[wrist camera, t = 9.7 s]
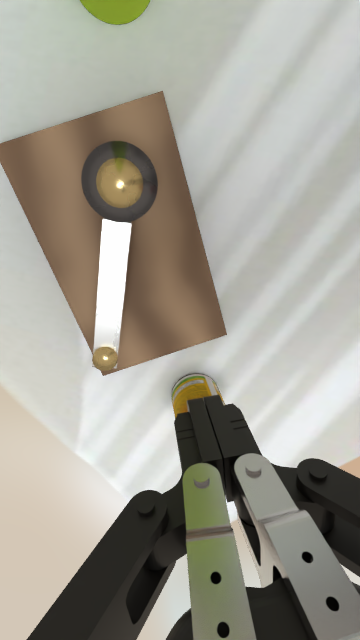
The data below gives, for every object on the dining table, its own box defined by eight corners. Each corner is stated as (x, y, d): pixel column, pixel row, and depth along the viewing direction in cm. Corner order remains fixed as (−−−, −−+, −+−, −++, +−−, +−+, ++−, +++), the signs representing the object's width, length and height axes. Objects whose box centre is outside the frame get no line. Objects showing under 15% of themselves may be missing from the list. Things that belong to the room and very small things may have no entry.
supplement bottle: (162, 401, 37) (171, 471, 28) (187, 365, 35) (206, 426, 26) (200, 417, 38) (221, 488, 30) (226, 383, 37) (256, 447, 28)
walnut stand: (160, 97, 25) (162, 90, 23) (221, 326, 34) (227, 335, 32) (2, 148, 25) (-9, 145, 23) (104, 365, 34) (102, 377, 32)
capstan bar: (91, 141, 24) (81, 131, 19) (157, 154, 25) (163, 148, 20) (80, 344, 30) (71, 372, 26) (133, 348, 31) (134, 376, 27)
